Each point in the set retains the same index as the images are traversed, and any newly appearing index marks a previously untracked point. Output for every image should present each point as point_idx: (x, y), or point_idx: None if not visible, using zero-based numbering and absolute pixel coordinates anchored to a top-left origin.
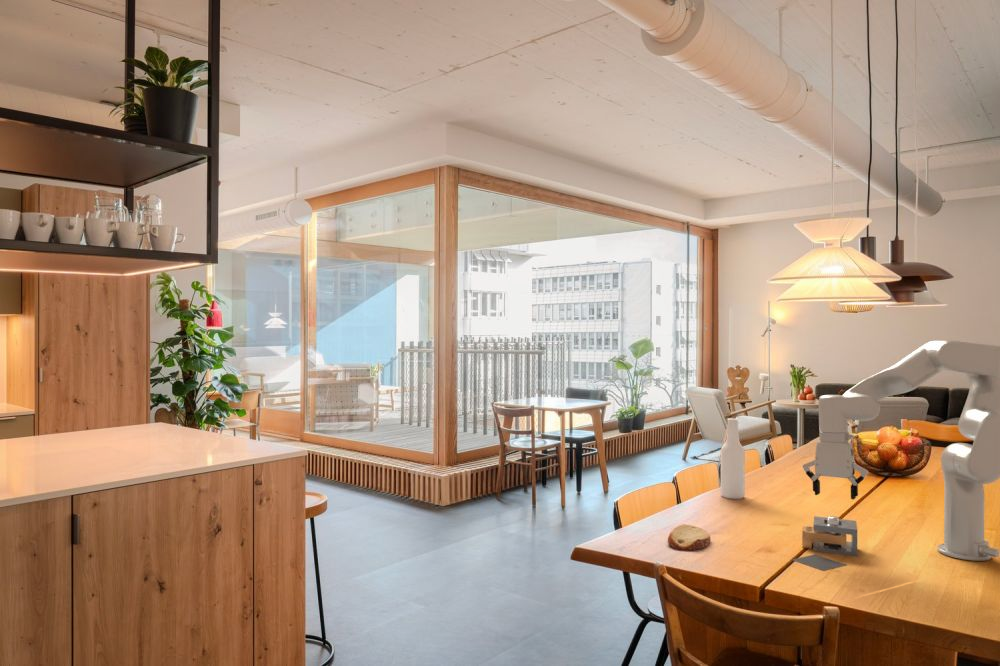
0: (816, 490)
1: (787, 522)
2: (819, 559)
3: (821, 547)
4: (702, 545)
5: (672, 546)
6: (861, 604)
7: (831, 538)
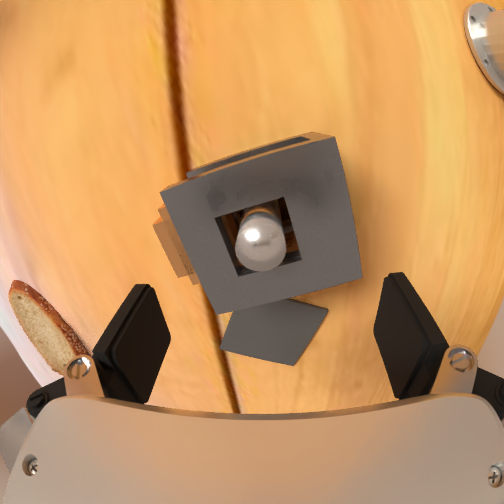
0: (160, 361)
1: (65, 39)
2: (265, 316)
3: None
4: None
5: None
6: None
7: None
